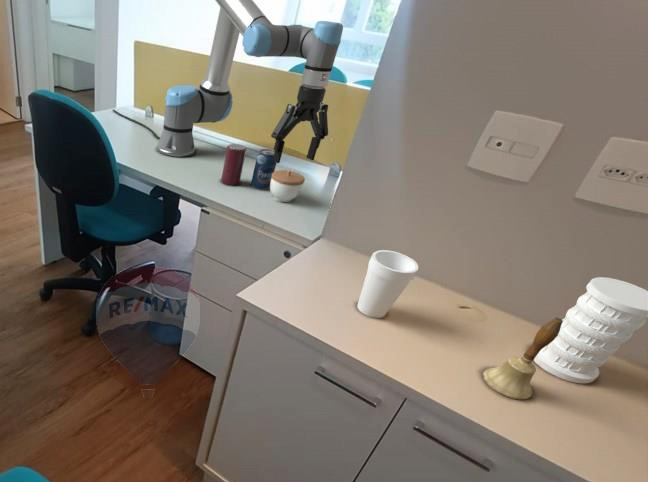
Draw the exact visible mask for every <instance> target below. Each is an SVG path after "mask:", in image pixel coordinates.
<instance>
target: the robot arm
mask: <svg viewBox="0 0 648 482" xmlns="http://www.w3.org/2000/svg"><path fill="white" fill-rule="evenodd" d="M214 1H215V3H217V5H218V6H219V8H220V9H219V12H218V16H217V22H216V27H215V31H214V35H213V40H212V46H211V50H210V55H209V59H208V64H207V69H206V72H205V73H206V74H205V78H204V79H203V80H201V81H200V83H199V88H198V87H197V86H195V85H192V84H179V85H174V86H171V87H170V88H168V90H167V92H166V96H165V100H164V104H165V105H164V115H163V117H164V118H163V127H162V128H163V129H162V131H161V134H160V136H158V135H157V134H156V132H155V131H154V130H153V129H151V128H150V127H149V126H147V125H146V124H143V123H142V122H139V121H137V120H136V119H133V118H130V117H128V116H126V115H124V114H122V113H120V112H119V111H118V110H116V109H114V108H113V109H112V112H114V113H115V114H117V115H118V116H120V117H123V118H124V119H127V120H128V121H132V122H134V123H136V124H137V125H140V126H142V127H143V128H146V129H147V130H148V131H149V132H151V133H152V134H153V136H154V137H155V138H156V139H158V142H157V145H156V150H157V152H159V153H160V154H161V155H165V156H168V157H175V158H186V157H190V156H193V155H194V154H195V148H196V147H195V141H194V135H193V134H194V133H193V130H194V124H203V123H204V124H206V123H207V124H208V123H211V124H213V123H218V122H222V121H224V120H226V119H227V117H229V116H230V113H231V111H232V108H233V95H232V92H231V87H230V85H229V83H228V82H229V77H230V73H231V70H232V65H233V62H234V57H235V54H236V50H237V45H238V42H239V41H238V40H239V38H240V37H239V36H240V34H241V36H242V47H243V51H244V53H245V54H246V55H247V56H249V57H255V58H263V57H265V58H266V57H269V58H270V57H271V58H272V57H274V58H275V57H277V58H278V57H280V58H299V59H304V60H306V61H305V64H304V68H303V72H302V76H301V80H300V84H301V85H299V88H298V92H297V96H296V100H297V102H296V104H295V105H293V104H291V103H287V105H286V108H285V111H284V113H283V114H282V117H281V118H280V120H279V121H278V123H277V124H276V126H275V128H274V129H273V131H272V133H271V136H270V137H271V138H273V139H275V141H274V146H273V151H275V152H274V156H273V161H274V162H276V164H280V162H281V160H282V159H281V158H282V155H283V151H284V147H285V143H286V141H285V138H286V137H287V136H288V135H289V134H290V133H291V132H292V131H293V129H295V127H296V126H297V125H298V124H300V123H301V122H306V121H307V122H309V123H310V126H311V128H312V132H313V134H314V136H312V137H311V140H310V144H309V147H308V151H307V155H306V159H308V160H310V161H314V160H315V158H316V153H317V150H318V149H319V147H320V145H321V141H322V140H324V139H325V138H326V137H328V135H329V123H328V110H329V105H328V104H326V103H323V102H324V98H325V96H326V91H327V89H326V88H327V86H328V84H329V81H330V77H331V75H332V74H331V73H332V70H333V67H334V64H335V60H336V56H337V53H338V50H339V48H340V44H341V40H342V36H343V30H344V26H343V24H342V23H341V22H337V21H336V22H335V21H329V20H327V21H326V20H318V21H316V23H315V25H314V27H309V26H306V25H305V26H304V25H303V24H290V25H285V24H283V25H282V24H281V25H280V24H273V23H272V22H271V20H269V18H267V16H266V15H265V14H264V12H263V11H262V10H261V8H260V7H259V6H258V5H257V4H256V2H254V0H214Z"/></svg>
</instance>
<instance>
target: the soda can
mask: <svg viewBox="0 0 648 482" xmlns="http://www.w3.org/2000/svg"><path fill="white" fill-rule="evenodd" d="M274 152H275V151H274V149H273V150H272V149H268V148H267V149H266V148H263V149H260V150H259V152H258V154H257V156H256V160H255V163H254V168H253V173H252V177H251V181H250V182H251V185H252V187H253V188H254V189H258V190H262V191H263V190H268V189H270V182H271V176H272V173H273V172H274V171H276V166H277V163H276V162H274V161H273V156H274Z"/></svg>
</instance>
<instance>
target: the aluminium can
mask: <svg viewBox="0 0 648 482" xmlns="http://www.w3.org/2000/svg"><path fill="white" fill-rule="evenodd" d="M246 153H247V147H246V146H244V145H242V144H238V143H230V144H228V145H227V147H226V150H225V156H224V162H223V168H222V172H221V173H222V174H221V179H220V182H221V183H222V184H223V185H225V186H231V187H236V186H239V185H240V182H241V177H242V173H243V167H244V163H245V158H246Z"/></svg>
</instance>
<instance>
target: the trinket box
mask: <svg viewBox="0 0 648 482" xmlns="http://www.w3.org/2000/svg"><path fill="white" fill-rule="evenodd" d="M305 181H306V178H305V176H304V175H302V174H301V173H298V172H297V171H296V172H295V171H292V170H285V169H279V170H275V171H274V172H273V173H272V176H271V182H270V187H269V191H270V193H271V196H272V198H273V200H275V201H277V202H281V203H290V202H291V201H292V200H294V199H295V198H297V196H299V194H300V193H301V191H302V188H303V186H304V183H305Z"/></svg>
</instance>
